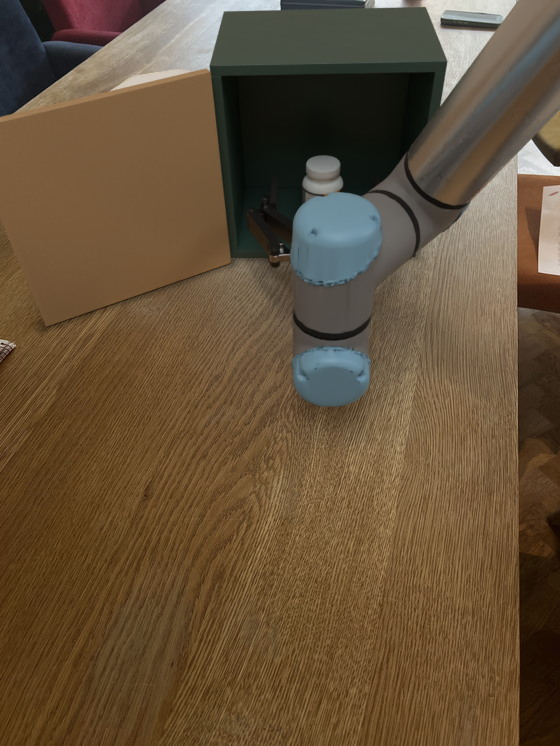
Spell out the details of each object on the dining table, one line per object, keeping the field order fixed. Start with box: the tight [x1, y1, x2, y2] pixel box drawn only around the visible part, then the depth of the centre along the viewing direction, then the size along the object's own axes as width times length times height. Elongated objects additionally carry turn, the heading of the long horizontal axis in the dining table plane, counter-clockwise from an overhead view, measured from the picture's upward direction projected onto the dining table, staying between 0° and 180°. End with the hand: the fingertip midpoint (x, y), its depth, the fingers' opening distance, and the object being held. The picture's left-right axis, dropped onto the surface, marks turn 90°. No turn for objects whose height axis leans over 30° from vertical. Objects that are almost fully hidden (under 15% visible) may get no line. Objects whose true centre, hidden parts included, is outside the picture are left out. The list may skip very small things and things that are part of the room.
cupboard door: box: [0, 68, 232, 328], centre depth 75 cm, size 7×26×26 cm, turn 118°
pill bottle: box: [302, 155, 343, 205], centre depth 87 cm, size 6×6×10 cm
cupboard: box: [209, 6, 449, 259], centre depth 84 cm, size 18×26×26 cm
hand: (325, 184), depth 83 cm, fingers open, 13 cm apart
